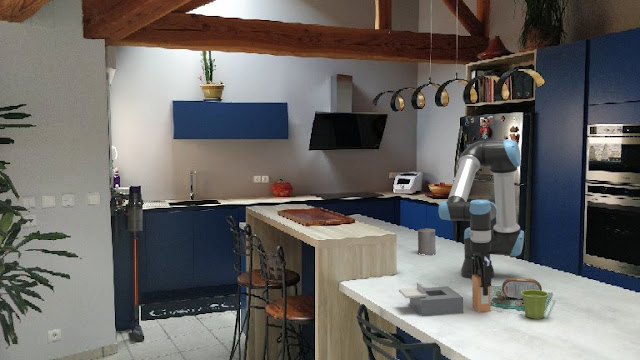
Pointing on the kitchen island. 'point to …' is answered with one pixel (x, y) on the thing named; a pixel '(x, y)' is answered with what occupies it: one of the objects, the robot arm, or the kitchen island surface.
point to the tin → (519, 286)
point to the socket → (438, 302)
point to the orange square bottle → (479, 294)
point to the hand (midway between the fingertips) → (481, 301)
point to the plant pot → (534, 303)
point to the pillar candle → (426, 241)
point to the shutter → (414, 291)
